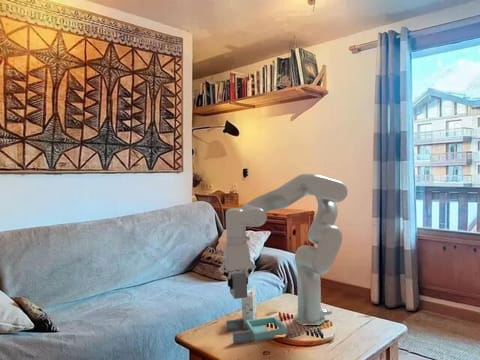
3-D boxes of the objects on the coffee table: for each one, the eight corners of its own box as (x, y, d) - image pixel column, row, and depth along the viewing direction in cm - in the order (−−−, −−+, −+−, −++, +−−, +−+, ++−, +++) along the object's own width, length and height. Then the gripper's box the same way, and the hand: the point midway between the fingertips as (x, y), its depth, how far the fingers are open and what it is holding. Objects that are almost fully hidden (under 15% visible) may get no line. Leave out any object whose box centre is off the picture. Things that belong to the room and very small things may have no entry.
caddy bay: (243, 328, 159) (243, 318, 158) (251, 341, 147) (251, 331, 146) (226, 330, 157) (226, 320, 157) (233, 344, 145) (233, 333, 145)
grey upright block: (242, 290, 156) (241, 270, 155) (247, 297, 148) (246, 276, 147) (229, 292, 154) (228, 272, 154) (234, 299, 147) (233, 278, 146)
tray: (275, 323, 162) (275, 316, 162) (287, 336, 150) (287, 329, 150) (245, 327, 159) (245, 320, 159) (254, 341, 147) (254, 333, 146)
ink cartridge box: (245, 316, 171) (244, 282, 170) (256, 316, 170) (256, 283, 169) (241, 324, 163) (240, 289, 162) (253, 324, 162) (252, 289, 161)
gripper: (254, 237, 156) (256, 281, 157) (212, 240, 151) (214, 286, 152) (260, 240, 148) (262, 287, 149) (216, 244, 144) (218, 293, 145)
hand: (238, 286), depth 151 cm, fingers closed on grey upright block, 5 cm apart
